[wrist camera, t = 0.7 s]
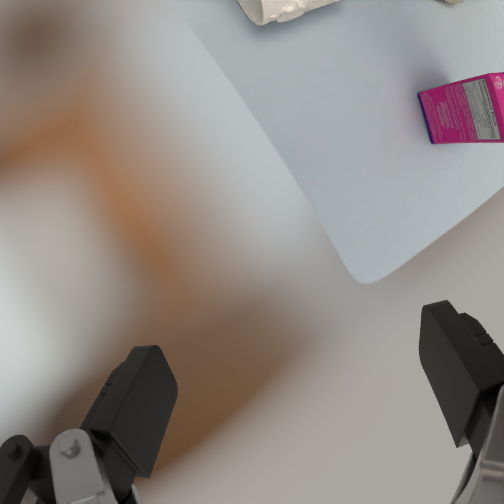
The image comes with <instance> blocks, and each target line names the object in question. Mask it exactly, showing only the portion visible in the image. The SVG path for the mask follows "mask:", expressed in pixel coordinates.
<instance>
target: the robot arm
mask: <svg viewBox="0 0 504 504" xmlns="http://www.w3.org/2000/svg"><path fill="white" fill-rule="evenodd" d="M419 356H420V361H421V364H422V367H423V369H424V371H425V373H426V375H427V378H428V380H429V382H430V384H431V387H432V389H433V391H434V394H435V396H436V398H437V400H438V403H439V405H440V407H441V410H442V412H443V415H444V417H445V419H446V422H447V424H448V427H449V430H450V432H451V435H452V437H453V440H454V442H455V445H456V447H457V448H458V447H460V446H463V445H466V444H470V446H471V449H472V453H471V455H470V457H469V460H468V463H467V465H466V468H465V470H464V473H463V475H462V478H461V480H460V483H459V485H458V487H457V489H456V492H455V494H454V496H453V499H452V501H451V503H450V504H504V354H503V353H502V352H501V350H500V349H499V348H498V346H497V345H496V344H495V343H493V340H492V338H491V337H490V336H489V334H487V333H486V330H485V329H484V328H483V327H482V325H481V324H480V323H479V322H478V320H476V319H475V318H473V317H471V316H469V315H468V314H466V313H461V314H458V313H457V311H456V310H455V309H454V308H453V306H452V305H451V303H450V302H449V301H448V300H444V301H440V302H436V303H432V304H428V305H424V306H423V308H422V313H421V328H420V339H419ZM177 395H178V388H177V383H176V380H175V377H174V375H173V373H172V371H171V369H170V367H169V365H168V363H167V361H166V359H165V357H164V355H163V352H162V350H161V349H160V347H159V346H157V345H149V346H136V347H134V348H133V349H132V350H131V352H130V354H129V355H128V357H127V359H126V360H125V362H122V363H121V364H120V365H119V366H118V367H117V368H116V369H115V370H114V371H112V372H111V374H110V376H109V377H108V379H107V381H106V383H105V386H103V388H102V389H101V391H100V395H99V396H97V398H96V400H95V402H94V403H93V405H92V407H91V409H90V410H89V412H88V414H87V416H86V417H85V419H84V421H83V423H82V425H81V427H80V428H79V429H70V430H67V431H65V432H63V433H61V434H60V435H58V436H57V437H56V438H55V439H54V441H53V442H52V444H51V445H47V446H36V447H35V446H34V445H33V444H32V442H30V440H29V439H28V438H27V437H26V436H24V435H15V436H12V437H10V438H9V439H8V440H6V441H5V442H4V443H3V444H2V446H1V448H0V504H20V503H21V501H22V499H23V496H24V494H25V492H26V490H27V489H28V490H30V491H31V492H32V493H33V494H34V495H35V496H37V497H38V499H37V501H36V503H35V504H143V502H142V500H141V498H140V495H139V493H138V491H137V489H136V487H135V485H134V484H133V481H134V478H135V476H136V477H143V478H150V476H151V473H152V470H153V467H154V464H155V460H156V458H157V455H158V452H159V449H160V446H161V443H162V440H163V437H164V434H165V431H166V428H167V425H168V422H169V419H170V416H171V414H172V411H173V408H174V405H175V402H176V399H177Z"/></svg>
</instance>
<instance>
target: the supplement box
mask: <svg viewBox="0 0 504 504" xmlns="http://www.w3.org/2000/svg"><path fill="white" fill-rule="evenodd" d="M418 97H419V100H420V103H421V107H422V110H423V113H424V117H425V120H426V124H427V127H428V131H429V135H430V140H431V143H432V144H443V143H504V72H501V73H488V74H484V75H480V76H476V77H473V78H469V79H465V80H461V81H457V82H454V83H450V84H447V85H443V86H440V87H436V88H433V89H429V90H426V91H423V92H420V93H418Z"/></svg>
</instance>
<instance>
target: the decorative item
mask: <svg viewBox="0 0 504 504" xmlns="http://www.w3.org/2000/svg"><path fill="white" fill-rule="evenodd" d="M445 1H446V2H448V3H459V2H462V1H463V0H445Z"/></svg>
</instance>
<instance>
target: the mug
mask: <svg viewBox="0 0 504 504" xmlns="http://www.w3.org/2000/svg"><path fill="white" fill-rule="evenodd" d="M237 1H238V2H239V4H240V6H241V7H242V9H243V10H244V12H245V13H246V15H247V16H248V17H249V18H250V19H251V20H252V21H253V22H254V23H255V24H256V25H259V26H262V25H264V24H266V23H269V22H271V21H274V20H276V19H277V21H278V22H285V21H289V20H292V19H294V18H297V17H299V16H301V15H303V12H307V11H310V10H312V9H315V8H318V7H321V6H324V5H327V4H331V3H334V2H337V1H340V0H237Z"/></svg>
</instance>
